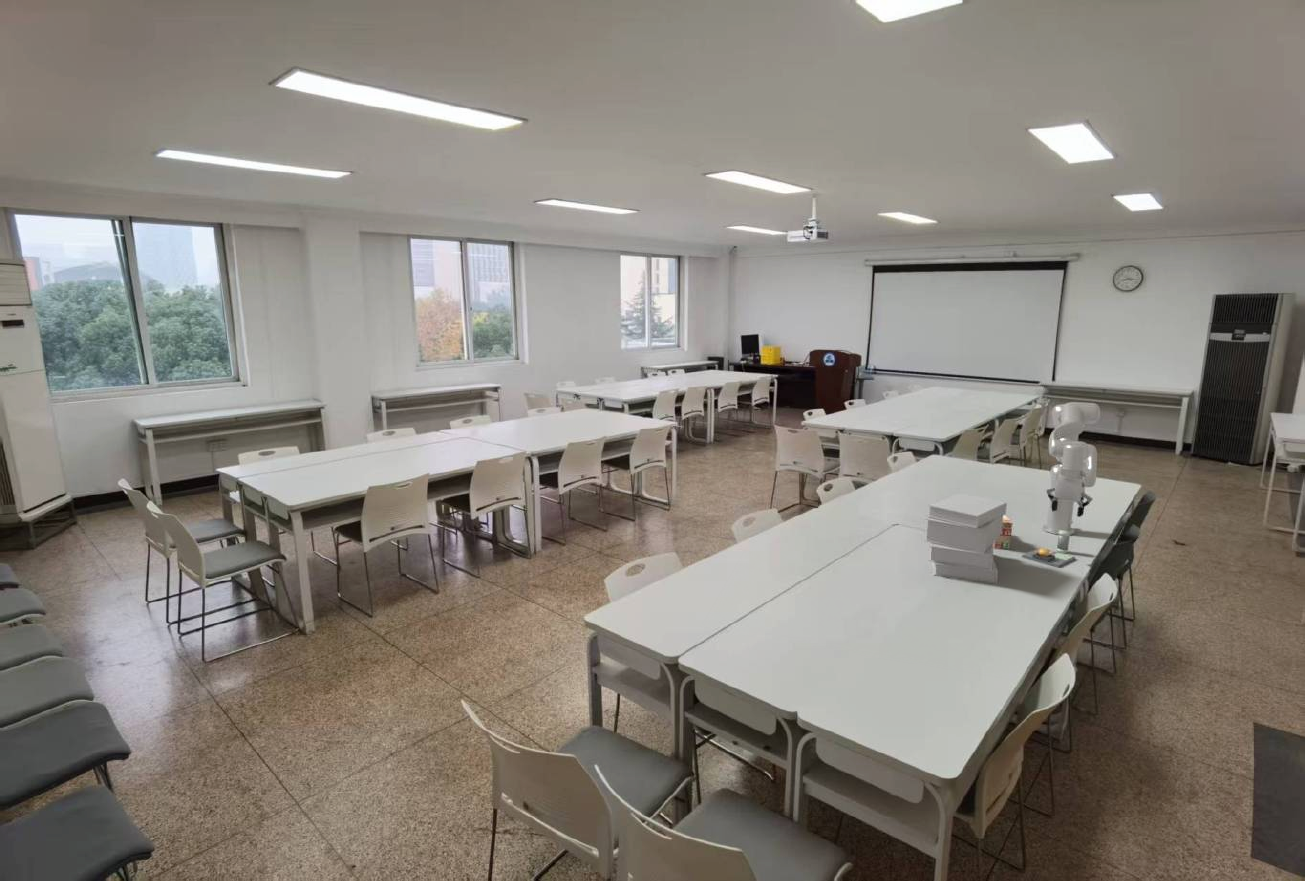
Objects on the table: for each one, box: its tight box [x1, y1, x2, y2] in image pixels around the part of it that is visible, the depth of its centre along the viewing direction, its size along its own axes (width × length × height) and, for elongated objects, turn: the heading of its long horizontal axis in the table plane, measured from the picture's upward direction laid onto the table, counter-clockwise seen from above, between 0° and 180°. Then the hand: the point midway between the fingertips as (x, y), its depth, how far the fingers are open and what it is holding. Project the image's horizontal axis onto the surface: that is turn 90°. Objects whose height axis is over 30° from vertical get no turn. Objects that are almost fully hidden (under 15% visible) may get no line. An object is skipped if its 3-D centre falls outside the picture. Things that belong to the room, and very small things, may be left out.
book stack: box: [924, 492, 1007, 583], centre depth 262 cm, size 30×35×26 cm
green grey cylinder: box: [1056, 530, 1071, 554], centre depth 276 cm, size 4×4×9 cm
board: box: [1021, 547, 1076, 568], centre depth 270 cm, size 15×14×2 cm
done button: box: [1039, 548, 1050, 557], centre depth 267 cm, size 4×4×2 cm
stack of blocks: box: [993, 514, 1013, 550], centre depth 290 cm, size 21×6×12 cm, turn 169°
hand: (1066, 513), depth 274 cm, fingers open, 9 cm apart
